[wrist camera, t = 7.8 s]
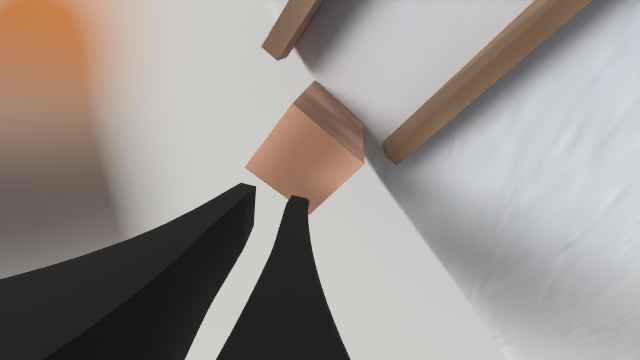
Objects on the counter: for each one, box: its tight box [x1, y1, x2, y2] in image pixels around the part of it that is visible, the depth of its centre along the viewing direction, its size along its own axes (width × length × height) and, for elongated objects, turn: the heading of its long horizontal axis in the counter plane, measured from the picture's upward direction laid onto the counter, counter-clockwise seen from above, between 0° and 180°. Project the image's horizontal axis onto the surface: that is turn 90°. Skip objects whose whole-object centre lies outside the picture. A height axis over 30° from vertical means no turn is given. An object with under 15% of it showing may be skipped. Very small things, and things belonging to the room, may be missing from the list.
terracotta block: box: [245, 81, 364, 214], centre depth 14 cm, size 4×4×6 cm
